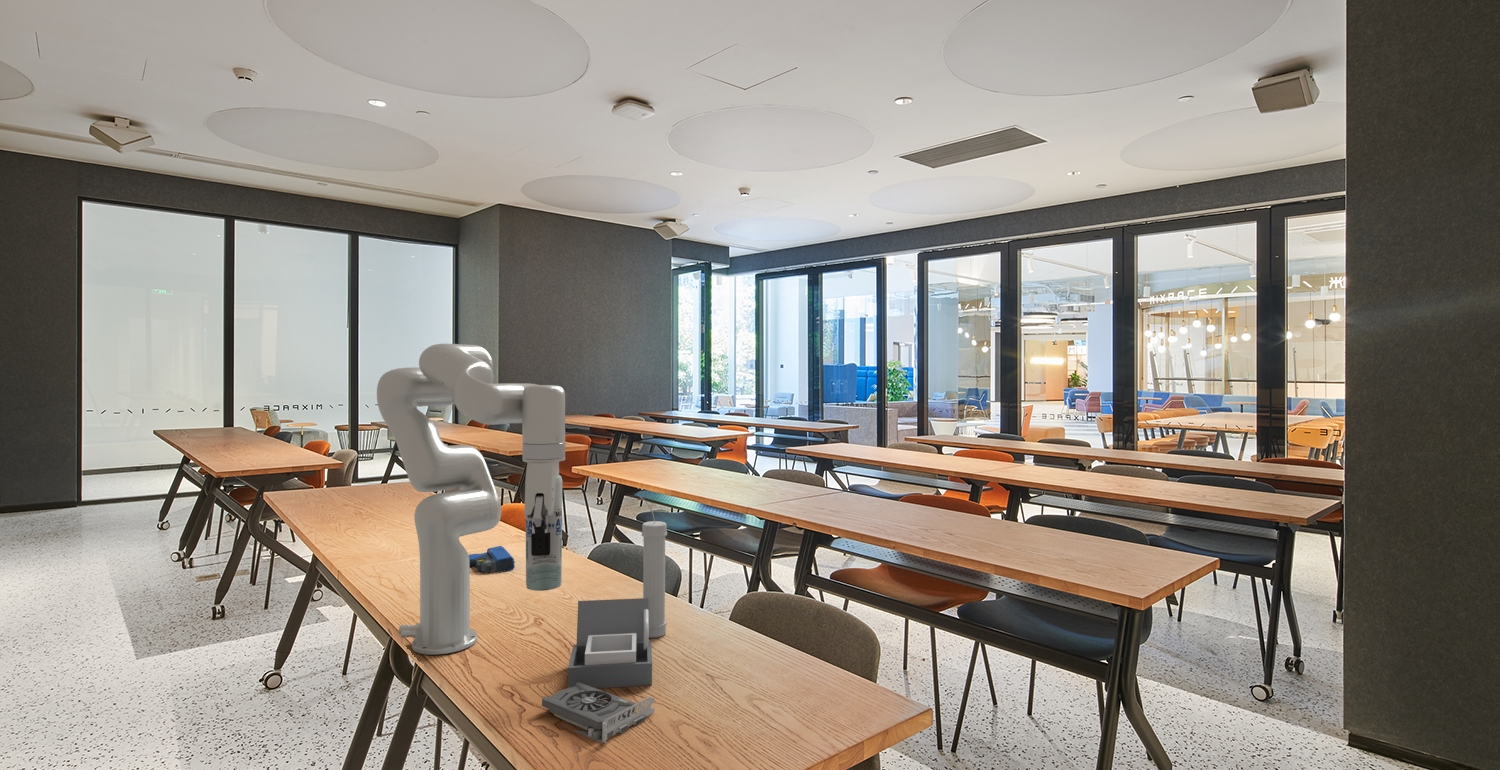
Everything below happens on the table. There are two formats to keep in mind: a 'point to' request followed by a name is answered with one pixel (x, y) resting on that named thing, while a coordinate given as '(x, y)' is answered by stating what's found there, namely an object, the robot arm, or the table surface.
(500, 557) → the stun gun
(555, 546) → the spray paint can
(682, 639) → the table surface
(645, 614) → the case
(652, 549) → the pipe
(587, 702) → the graphics card
